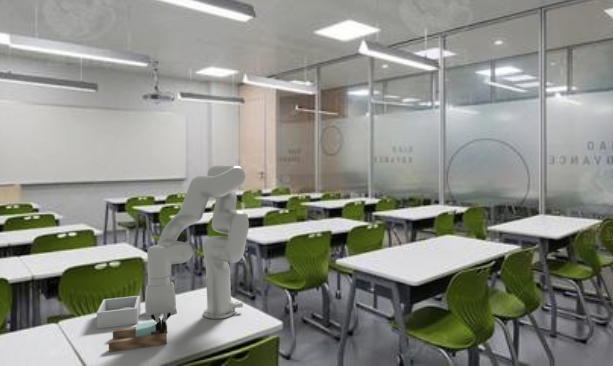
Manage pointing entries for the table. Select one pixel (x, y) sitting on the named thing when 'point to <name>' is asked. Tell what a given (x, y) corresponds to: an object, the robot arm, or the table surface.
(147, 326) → the block
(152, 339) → the wooden rail pair
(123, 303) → the holder
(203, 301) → the table surface
